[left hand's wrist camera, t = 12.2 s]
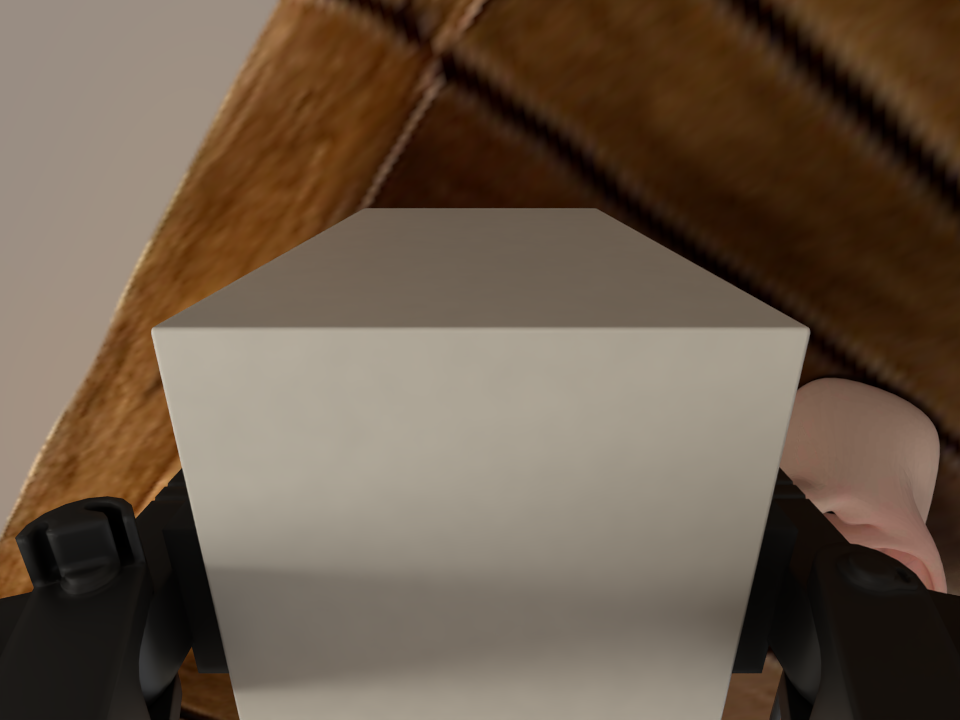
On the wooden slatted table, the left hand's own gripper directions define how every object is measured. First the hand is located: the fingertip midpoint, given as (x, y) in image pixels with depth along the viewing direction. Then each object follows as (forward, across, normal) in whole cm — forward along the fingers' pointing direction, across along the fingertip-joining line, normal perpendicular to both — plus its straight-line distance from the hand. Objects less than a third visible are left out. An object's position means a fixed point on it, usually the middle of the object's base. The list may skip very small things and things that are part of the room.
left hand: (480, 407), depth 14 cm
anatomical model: (+13, +19, -11) cm, 26 cm away
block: (+5, 0, 0) cm, 5 cm away
